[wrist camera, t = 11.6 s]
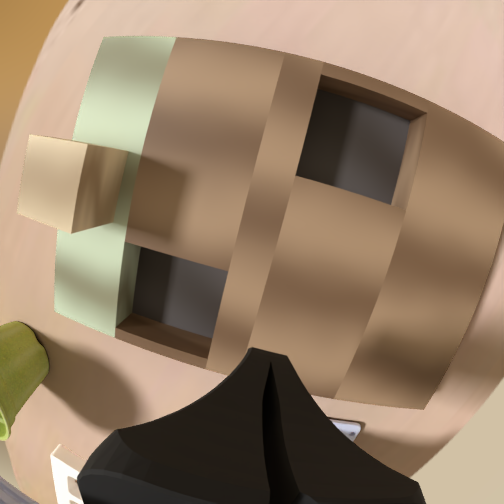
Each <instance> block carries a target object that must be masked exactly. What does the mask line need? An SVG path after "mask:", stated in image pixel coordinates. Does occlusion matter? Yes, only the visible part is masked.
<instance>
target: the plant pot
mask: <svg viewBox="0 0 504 504" xmlns="http://www.w3.org/2000/svg"><path fill="white" fill-rule="evenodd" d="M48 371H49V362H48V357H47V354H46V352H45V349H44V347H43V346H42V345H41V344H40V343H39V342H38V341H37V339H36V337H35V335H34V332H33V331H32V330H31V329H30V328H29V327H27V326H26V325H25V324H23V323H21V322H17V321H13V322H10V323H7V324H4V325H2V326H0V440H3V441H5V440H7V439H8V438H9V437H10V434H11V426H12V425H13V423H14V421H15V416H16V415H17V414H18V412H19V411H20V409H21V408H22V407H23V405H24V404H25V402H26V401H27V400H28V398H29V397H30V396H31V395H32V393H33V392H34V391H35V390H36V388H37V387H38V386H39V385H40V383H41V382H42V381H43V380H44V378H45V377H46V376H47V374H48Z"/></svg>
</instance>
